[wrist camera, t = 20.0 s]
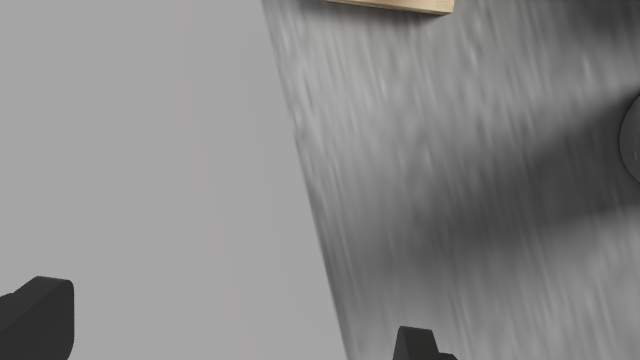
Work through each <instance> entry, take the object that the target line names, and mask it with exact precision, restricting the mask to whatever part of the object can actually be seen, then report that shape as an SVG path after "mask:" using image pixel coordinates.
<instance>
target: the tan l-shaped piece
mask: <svg viewBox="0 0 640 360" xmlns="http://www.w3.org/2000/svg"><path fill="white" fill-rule="evenodd" d="M326 1H330V2H338V3H346V4H354V5H362V6H370V7H378V8H386V9H394V10H402V11H410V12H418V13H426V14H434V15H442V16H444V15H447V14H450V13H452V12H453V6H454V1H455V0H326Z"/></svg>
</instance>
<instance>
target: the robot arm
mask: <svg viewBox="0 0 640 360" xmlns="http://www.w3.org/2000/svg"><path fill="white" fill-rule="evenodd" d="M619 143H620V153H621V157H622V160H623V163H624V165H625V166H626V168H627V170H628V171H629V173H630V174H631V175H632V176H633V177H634V178H635V179H636V180H637V181H639V182H640V96H639V97H638V98H637V99H636V100H635V101H634V102H633V104H632V106H631V107H630V109H629V110H628V112H627V113H626V116H625V118H624V121H623V123H622V126H621V132H620V137H619ZM73 343H74V287H73V284H72V282H71V281H70V280H64V279H57V278H50V277H42V276H37V277H35V278H33V279H32V280H30V281H29V282H27V283H26V284H25V285H23V286H22V287H21V288H19V289H18V290H16V291H15V292H14V293H9V294H6V295H4V296H1V297H0V360H67V359H68V357H69V355H70V353H71V350H72V347H73ZM393 360H457V359H456V357H455V356H454V355H453V354H447V353H439V351H438V348H437V345H436V342H435V338H434V335H433V332H432V330H428V329H421V328H413V327H406V326H400V328H399V330H398V334H397V340H396V345H395V350H394V356H393Z"/></svg>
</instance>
